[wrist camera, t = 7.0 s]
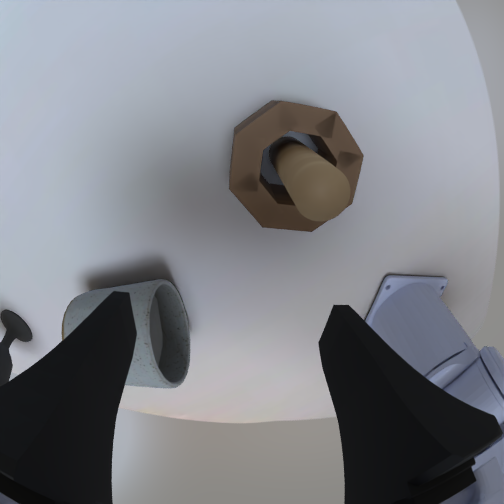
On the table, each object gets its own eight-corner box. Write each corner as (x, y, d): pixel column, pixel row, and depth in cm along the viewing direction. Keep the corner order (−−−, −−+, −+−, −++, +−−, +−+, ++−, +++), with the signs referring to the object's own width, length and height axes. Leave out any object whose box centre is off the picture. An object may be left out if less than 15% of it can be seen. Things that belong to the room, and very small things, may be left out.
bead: (325, 211, 19) (343, 235, 16) (226, 200, 18) (225, 224, 15) (345, 114, 15) (370, 120, 12) (238, 96, 14) (239, 95, 11)
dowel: (299, 174, 17) (340, 225, 11) (265, 167, 17) (287, 216, 10) (307, 140, 16) (357, 173, 10) (272, 133, 16) (301, 159, 9)
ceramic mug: (78, 274, 20) (38, 344, 13) (165, 256, 20) (140, 338, 13) (131, 357, 26) (116, 422, 19) (206, 350, 25) (203, 423, 19)
